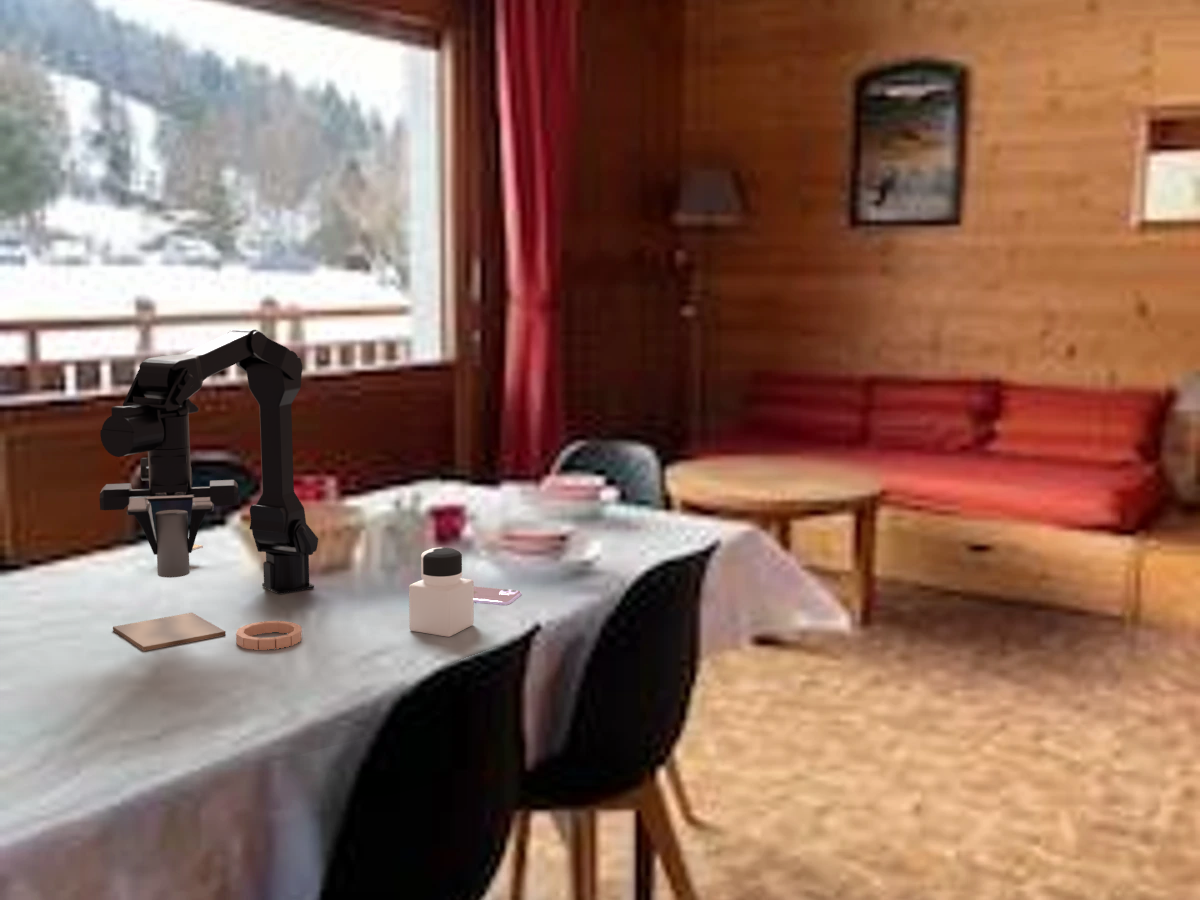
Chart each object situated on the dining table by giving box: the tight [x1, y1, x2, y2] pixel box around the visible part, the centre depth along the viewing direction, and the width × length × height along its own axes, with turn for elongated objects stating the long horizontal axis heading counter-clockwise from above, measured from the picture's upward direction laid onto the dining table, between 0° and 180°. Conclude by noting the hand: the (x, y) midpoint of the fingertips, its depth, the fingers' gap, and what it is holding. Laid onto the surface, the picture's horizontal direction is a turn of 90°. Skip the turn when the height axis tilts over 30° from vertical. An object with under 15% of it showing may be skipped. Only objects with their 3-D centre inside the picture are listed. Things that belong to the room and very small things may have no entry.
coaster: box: [112, 612, 226, 652], centre depth 187 cm, size 12×12×1 cm
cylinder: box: [154, 509, 191, 578], centre depth 184 cm, size 4×4×9 cm
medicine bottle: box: [408, 547, 475, 638], centre depth 190 cm, size 7×7×12 cm
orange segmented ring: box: [235, 620, 303, 651], centre depth 184 cm, size 9×9×2 cm
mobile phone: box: [474, 585, 522, 606], centre depth 209 cm, size 8×1×15 cm
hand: (172, 553), depth 185 cm, fingers closed on cylinder, 4 cm apart
